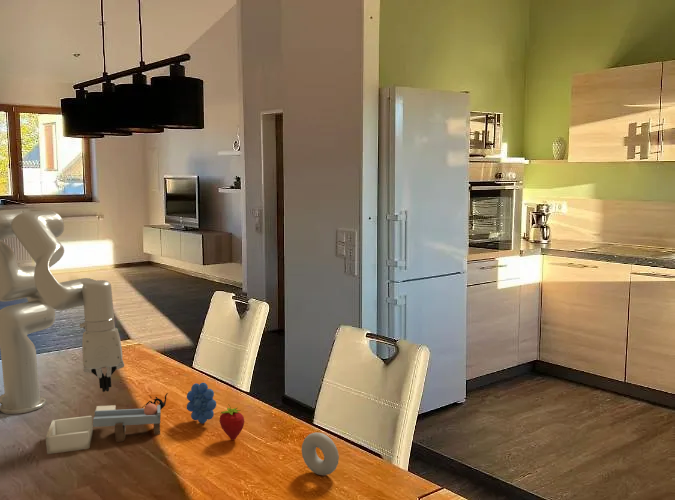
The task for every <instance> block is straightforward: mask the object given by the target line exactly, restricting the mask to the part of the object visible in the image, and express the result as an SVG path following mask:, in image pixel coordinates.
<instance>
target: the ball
mask: <svg viewBox="0 0 675 500" xmlns="http://www.w3.org/2000/svg"><path fill="white" fill-rule="evenodd" d="M149 403H150V404H149ZM149 403H148V404H147V403H146V404H147V405H144V407H143V409H144V413H145V415H155V414H156V413H157V405H156V404H152V403H151V402H149Z"/></svg>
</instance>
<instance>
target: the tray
mask: <svg viewBox="0 0 675 500" xmlns="http://www.w3.org/2000/svg"><path fill="white" fill-rule="evenodd" d="M93 429H94V427H93V416H92V415H85V416H84V415H83V416H77V417H76V416H75V417H68V418H67V417H66V418H60V419H52V420H51V424H50V426H49V428H48V430H47V433H46V436H45V445H46V455H51V454H57V453H58V454H59V453H65V452H73V451H79V450H80V451H81V450H82V451H83V450H88V449H90V447H91V442H92V436H93V432H94V430H93Z"/></svg>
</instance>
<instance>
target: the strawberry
mask: <svg viewBox="0 0 675 500" xmlns="http://www.w3.org/2000/svg"><path fill="white" fill-rule="evenodd" d="M227 405H228V406H229V407H230V408H229V407H227V410H224V411H221V412H220V416H219V420H218V421H219V424H220V427H221V429H222V430H223V432H224V433H225V435H227V436H228V437H229V439H230V440H231V441H234V440H236V439H237V438H238V436H239V435H240V434H241V432H242V430H243V429H244V424H245V417H244V415H243V414H242V413H241V412H240V411H241V409H238V407H235V408H232V407H231V405H230V404H227Z"/></svg>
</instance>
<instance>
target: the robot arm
mask: <svg viewBox="0 0 675 500" xmlns="http://www.w3.org/2000/svg"><path fill="white" fill-rule="evenodd" d="M64 231H65V222H64V220H63V218H62V216H61V215H60V214H59V213H58V212H56V211H54V210H51V209H39V208H38V209H36V208H17V209H3V210H2V209H1V210H0V302H11V301H17V300H23V299H26V300H27V301H26V302H25V301H24V302H21V303H16V304H12V305H7V306H5V307H3V308H1V309H0V359H1V369H2V370H1V371H2V379H3V389H4V393H3V394H1V395H0V412H1V413H3V414H8V415H10V414H11V415H15V414H16V415H17V414H25V413H29V412H33V411H36V410H39V409H41V408H42V407H44V406H45V405H46V403H47V402H46V401H47V400H46V398H45V397H43V396H40V395H41V393H40V383H39V373H38V372H39V370H38V358H37V350H36V349H37V348H36V346H35V344H34V343H33V341H32V340H31V339H30V338H29V336H28V335H30V334H33V333H37V332H40V331H43V330H46V329H49V328H50V327H52V326H53V325H54V323H55V320H56V311H66V310H70V309H73V308H77V307H83V312H84V314H83V315H84V321H83V322H82V323H79V329H84V330H85V331H84V332H82V339H81V340H82V341H81V342H82V343H81V344H82V348H81V349H82V352H81V353H82V364H83V368H82V371H83V372H84V373H92V374H93V375H94V376H96V377H97V378H98V381H99V382H98V383H99V384H98V385H99V389H101V390H102V392H103V393H104V392H110V388H112V377H111V376H112V375H113V374H114V372H116V371H117V370H120V369H122V368H124V367H125V363H124V360H123V349H122V342H121V337H120V333H119V332H120V331H119V329H118V328H117V327H116V325H115V323H116V322H115V312H114V304H113V303H114V302H113V291H112V290H113V289H112V285H111V282H110V281H108V280H105V279H103V280H102V279H100V280H99V279H98V280H96V279H94V278H93V279H92V278H91V277H90V278H88V277H83V278H77V279H71V280H67V281H62V282H59V281H58V280H57V279H56V278H55V276H54V275H53V273H52V271H51V269H50V268H51V267H53V266H54V265H55V264H57V263H58V262H59V261H60V260H61V259H62V257H63V256H64V253H65V248H64V246H63V245H62V243H61V242H60V241H59V239H58V237H60V236H62V234H63V232H64ZM16 238H17V239H18V241H19V243H20V244H21V245H22V246H23V248H24V249H25V251H26V252H27V253H28V254H29V255H30V257H31V258H32V260H33V261H34V263H35V265H34V266H33V265H30V266H29V265H28V266H27V265H26V266H21V267H19V264H18V261H17V257H16V254H15V252H14V250H13V249H12V248H11V247H10V245H8V244H7V243H5V242H4V241H3V240H4V239H5V240H6V239H7V240H8V239H16ZM103 368H106V373H105V375H104V373H103Z"/></svg>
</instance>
